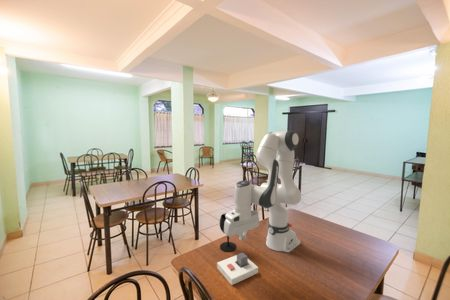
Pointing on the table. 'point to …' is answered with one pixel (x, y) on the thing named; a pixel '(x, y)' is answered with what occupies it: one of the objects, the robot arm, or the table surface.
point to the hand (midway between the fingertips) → (242, 238)
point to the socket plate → (236, 270)
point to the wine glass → (227, 245)
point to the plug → (242, 260)
